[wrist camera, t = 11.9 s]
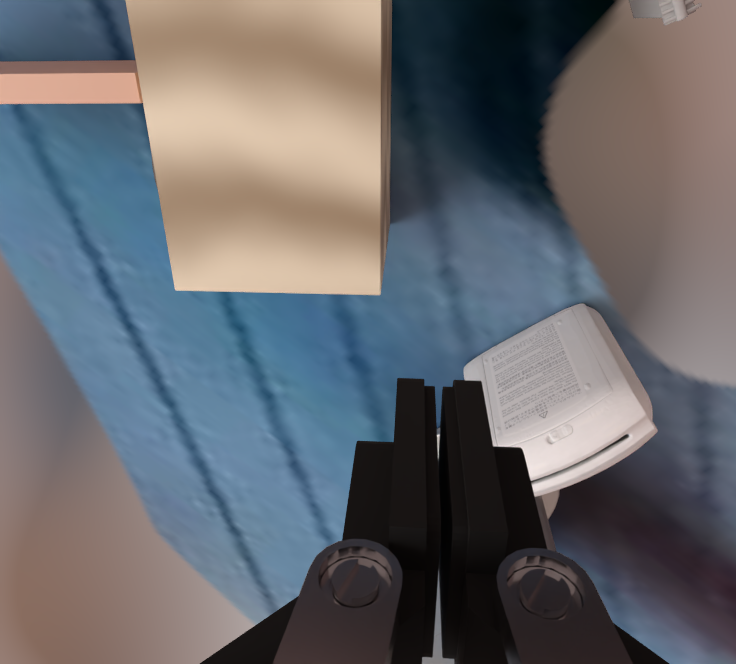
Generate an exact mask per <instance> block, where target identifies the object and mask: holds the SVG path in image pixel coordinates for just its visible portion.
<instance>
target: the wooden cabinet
mask: <svg viewBox="0 0 736 664" xmlns="http://www.w3.org/2000/svg"><path fill="white" fill-rule="evenodd" d="M126 6H127V12H128V18H129V23H130V29H131V35H132V41H133V47H134V53H135V58H136V64H137V70H138V76H139V82H140V88H141V93H142V99H143V105H144V111H145V117H146V123H147V128H148V134H149V140H150V146H151V152H152V165H153V172H154V177H155V181H156V185H157V188H158V193H159V198H160V204H161V210H162V216H163V222H164V228H165V233H166V239H167V245H168V251H169V257H170V262H171V268H172V274H173V280H174V286H175V290H181V291H224V292H268V293H311V294H354V295H380V293H381V286H382V279H383V271H384V264H385V257H386V249H387V242H388V234H389V227H390V151H391V48H392V0H126Z"/></svg>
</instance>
